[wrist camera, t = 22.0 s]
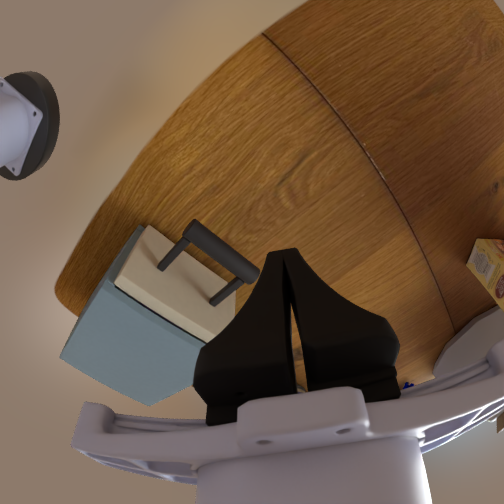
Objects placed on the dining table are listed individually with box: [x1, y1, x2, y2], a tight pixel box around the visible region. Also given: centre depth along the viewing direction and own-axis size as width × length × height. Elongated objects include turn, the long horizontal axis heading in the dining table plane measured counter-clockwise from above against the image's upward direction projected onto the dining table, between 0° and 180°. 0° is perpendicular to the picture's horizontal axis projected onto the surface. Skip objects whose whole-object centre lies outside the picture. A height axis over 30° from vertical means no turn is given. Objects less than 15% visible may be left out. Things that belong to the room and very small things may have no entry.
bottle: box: [433, 305, 504, 433], centre depth 29 cm, size 20×20×19 cm
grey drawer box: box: [60, 225, 205, 406], centre depth 24 cm, size 14×11×9 cm
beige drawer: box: [113, 219, 260, 344], centre depth 23 cm, size 17×10×7 cm, turn 136°
